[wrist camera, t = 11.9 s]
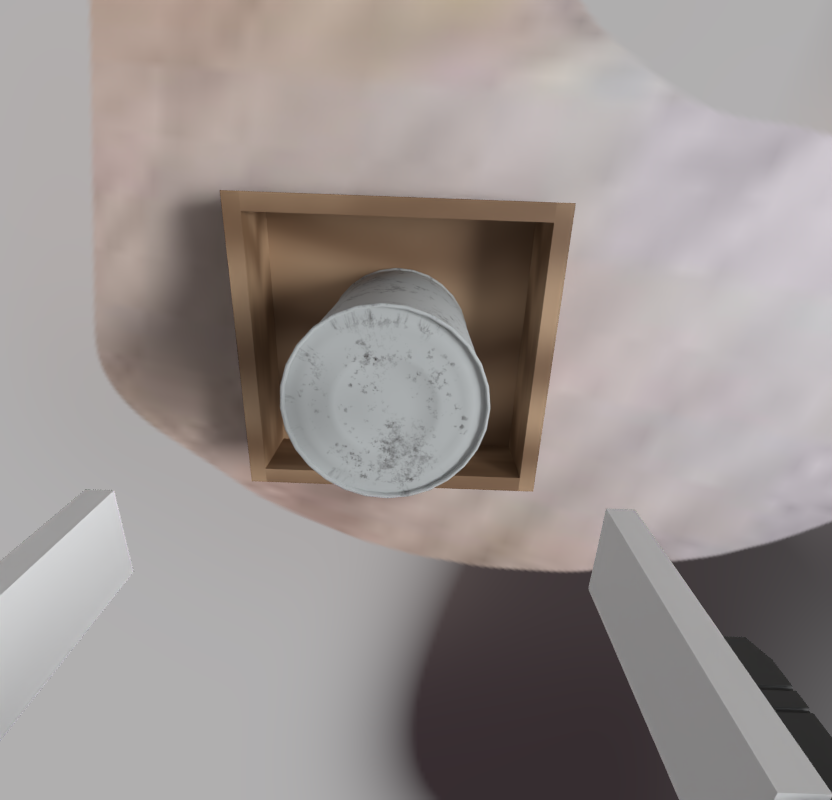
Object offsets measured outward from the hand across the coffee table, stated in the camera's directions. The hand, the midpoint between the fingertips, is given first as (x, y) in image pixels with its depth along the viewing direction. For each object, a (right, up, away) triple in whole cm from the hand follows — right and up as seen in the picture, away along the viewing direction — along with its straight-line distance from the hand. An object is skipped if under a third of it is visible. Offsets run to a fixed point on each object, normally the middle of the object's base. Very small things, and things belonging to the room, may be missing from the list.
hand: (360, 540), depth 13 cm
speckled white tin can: (0, +8, +20) cm, 22 cm away
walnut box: (0, +8, +21) cm, 23 cm away
